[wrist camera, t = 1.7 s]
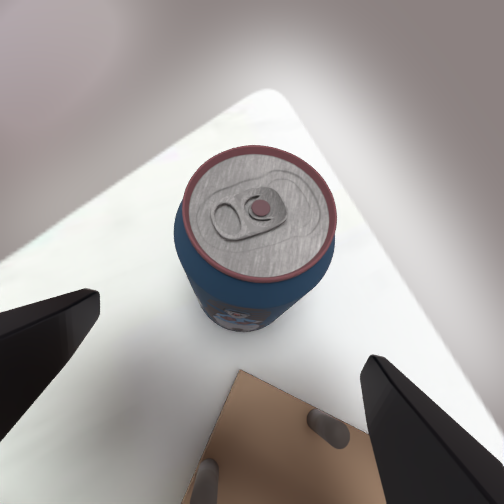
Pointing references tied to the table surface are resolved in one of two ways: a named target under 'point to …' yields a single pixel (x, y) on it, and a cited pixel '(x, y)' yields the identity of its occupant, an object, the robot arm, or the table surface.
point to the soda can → (254, 234)
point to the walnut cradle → (282, 453)
